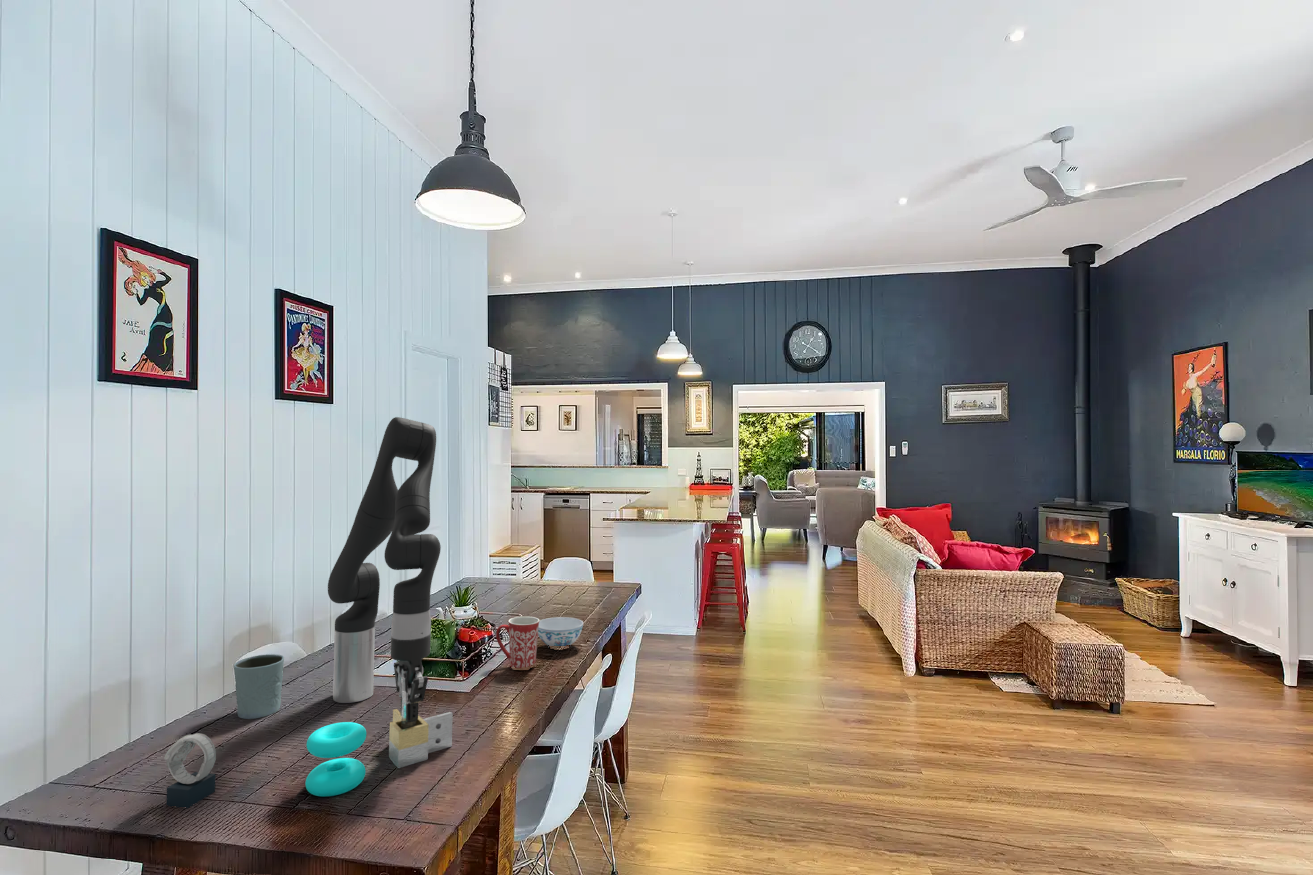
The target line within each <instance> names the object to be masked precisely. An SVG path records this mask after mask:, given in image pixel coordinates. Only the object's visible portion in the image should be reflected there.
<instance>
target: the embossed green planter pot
mask: <svg viewBox="0 0 1313 875" xmlns="http://www.w3.org/2000/svg"><path fill="white" fill-rule="evenodd" d="M284 662H285V657H284V655H281V654H276V653H273V654H272V653H271V654H270V653H269V654H268V653H267V654H259V655H254V656H249V657H246V658H245V657H244V658H241V659H240V660H238V661H236V662H235V663H234V664H233V673H234V674H233V675H234V682H235V696H236V697H235V698H236V705H237V706H236V707H237V708H236V710H237V711H236V712H237V713H236V714H237V716H238V718H241V719H245V720H246V719H247V720H253V719H254V720H255V719H259V718H261V719H262V718H263V717H264V718H265V717H268V716H270V715H273V714H275V713H277V712H279V710H280V709H281V701H282V700H281V698H282V689H283V688H282V685H283V677H284V676H283V675H284V673H283V671H284V666H285V665H284V664H285V663H284Z"/></svg>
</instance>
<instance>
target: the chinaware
mask: <svg viewBox="0 0 1313 875" xmlns="http://www.w3.org/2000/svg"><path fill="white" fill-rule="evenodd" d="M539 620H540V621H539V626H538V638H540V641H542V642H543V644H545V645H546V646H548V645H549V646H566V645H570V646H571V645H572V644H574V643H575V642H576V641H577V640H578V639H579V637H580V635H581V633H582V631H583V627H584V621H583V620H581V619H579V618H576V617H570V616H569V617H568V616H567V617H565V616H557V617H548V618H543V619H539ZM549 646H548V647H549Z"/></svg>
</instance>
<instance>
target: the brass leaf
mask: <svg viewBox="0 0 1313 875" xmlns="http://www.w3.org/2000/svg"><path fill="white" fill-rule="evenodd" d="M423 719H424V718H422V716H420V715H419V714H418V720H417V721H416V726H414V727H411V728H407V729H403V730H402V729H401V722H402V716H401V710H400V711H399V709H397V708H395V709H392V721H390V722H389V735H388V736H389V737H388V741H389V740H390V741H391V742H392V743H393V745H394V746H395V747H396V748H397V749H398V750H402V749H405V748H409V747H412V746H416V745H419V744H423V743H426V742H428V727H429V724H428V723H426V722H425V721H424V720H423Z"/></svg>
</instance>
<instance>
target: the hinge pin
mask: <svg viewBox="0 0 1313 875" xmlns="http://www.w3.org/2000/svg"><path fill="white" fill-rule="evenodd" d="M401 683H402V722H401V729H402V730H403V729H407V728H411V727H414V726H416V721H414V722H410V723H408V722H407V721H406V692H404V691H403V677H401ZM408 687H412V685H410V686H408ZM410 693H411V692H410ZM415 696H416V695H415Z"/></svg>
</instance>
